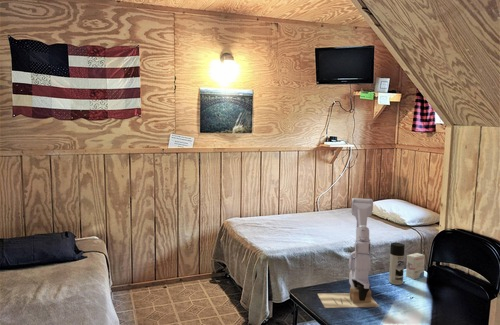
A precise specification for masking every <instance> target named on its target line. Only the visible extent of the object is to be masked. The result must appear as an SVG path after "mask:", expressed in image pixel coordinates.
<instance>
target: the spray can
mask: <svg viewBox="0 0 500 325" xmlns="http://www.w3.org/2000/svg"><path fill="white" fill-rule="evenodd" d="M405 247H406V246H405V244H403V243H401V242H397V241H396V242H391V243H390V250H389V251H390V252H389V269H388V270H389V271H388V272H389V273H388V274H389V275H388V282H389V283H390V284H391V285H394V286H401V285H403V283H404V271H405V270H404V269H405V268H404V266H405V265H404V264H405Z"/></svg>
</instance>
